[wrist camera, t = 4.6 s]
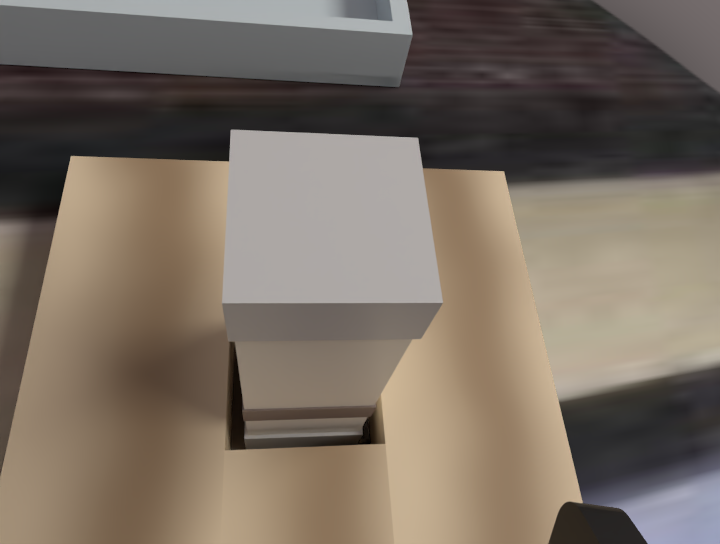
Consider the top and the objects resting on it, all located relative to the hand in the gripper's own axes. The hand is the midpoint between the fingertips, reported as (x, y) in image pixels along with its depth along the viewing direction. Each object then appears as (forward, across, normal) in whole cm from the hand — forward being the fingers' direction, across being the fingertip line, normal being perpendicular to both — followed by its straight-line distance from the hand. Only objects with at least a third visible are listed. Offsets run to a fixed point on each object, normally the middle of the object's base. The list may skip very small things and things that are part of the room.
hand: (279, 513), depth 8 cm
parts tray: (+25, +8, -10) cm, 28 cm away
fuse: (+11, 0, +4) cm, 12 cm away
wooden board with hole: (+11, 0, +4) cm, 11 cm away
